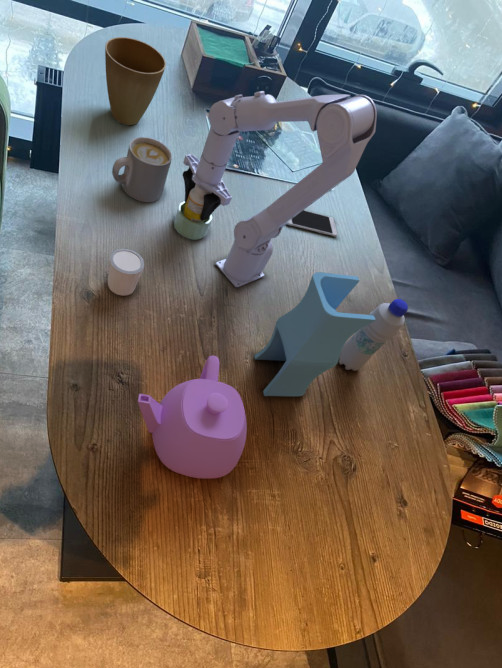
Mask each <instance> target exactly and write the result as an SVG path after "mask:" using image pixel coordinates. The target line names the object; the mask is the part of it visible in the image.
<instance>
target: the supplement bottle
mask: <svg viewBox="0 0 502 668" xmlns="http://www.w3.org/2000/svg"><path fill="white" fill-rule="evenodd" d="M210 193H212V192H211V191H210V190H208V189H207V188H205V187H204V186H202V185H201V184H196V185H195V188H193V189H192V190H191V191H190V193H189V196H188V199H187V202H186V205H185V208H184V211H183V215H184V216H185V217H186V218H187V219H189V220H190V221H193V222H196V223H204V221H205V220H203V221H202V220H201V219H200V215H201V212H202V209H203V205H204V195H206V194H210Z"/></svg>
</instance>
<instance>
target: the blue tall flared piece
mask: <svg viewBox="0 0 502 668" xmlns="http://www.w3.org/2000/svg"><path fill="white" fill-rule="evenodd" d="M359 283H360V278H359V276H356V275H348V274H340V273H339V274H338V273H331V272H323V271H322V272H321V271H317V272H315V273H313V274H312V276H311V278H310V281H309V284H308V287H307V289H306V292H305V293H304V295H303V297H302V298H301V300H300V301H299V303H297V305H296V306H295V307H293V308H292V309H291V310H290V311H287V312H286V313H285V314H283V315H281V316H280V317H278V318H277V320H276V321H275V325H274V328H273V331H272V335H271V337H270V339H269V341H268V343H267V344H266V345H265V346H264V347H263V348H262V349H261V350H260V351H259V352H257V353H256V354H254V355H253V357H254V360H255V361H256V360H259V361H276V362H277V361H279V362H284V363H283V365H282V366H281V368H280V370H279V371H278V372H277V374H275V376H274V378H272V380H271V381H270V382H269V383H268V385H266V387H265V388H264V390H262V393H263V396H264V397H303V396H304V395H305V394H306V391H307V390H308V388H309V387H310V385H311V384H312V383H313V382H314V380H315V379H316V378H318V377H320V375H322V374H324V373H325V372H327V371H329V370H330V369H333V368H335V367H336V365H338V364H339V356H340V353H341V350H342V348H343V346H344V344H345V343H346V342H347V341H348V340H349V339H350V338H351V337H352V336H353V335H354V334H355V333H356V332H357V331H358V330H360V329H361V328H363V327H365V326H366V325H368V324H370V323H372V322H374V321H375V320H376V319H375V317H374V315H369V314H363V313H362V314H361V313H350V312H340V311H337V309H338V307H339V306H340V305H341V304H342V302H343V301H345V299H346V298H347V297H348V295H349V294H350V293H351V292H352V291H353V289H355V287H356V286H357V285H358V284H359Z"/></svg>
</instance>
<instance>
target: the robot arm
mask: <svg viewBox="0 0 502 668" xmlns="http://www.w3.org/2000/svg"><path fill="white" fill-rule="evenodd" d="M377 116H378V111H377V106H376V103H375V101H373V99H372V98H371V97H370V96H368V95H366V94H356V95H354V96H352V97H351V94H347V93H346V94H343V93H341V94H322V95H315V96H307V97H301V98H294V99H287V100H281V101H278V100H276V98H275V97H274V96H273V95H272V94H270V93H269V94H265V90H261V91H256V92H254V94H253V95H252V96H243V94H236V95H234V97H230V98H227V99H223V100H219V101H216V102H215V103H213V104H212V105H211V107H210V109H209V111H208V121H209V125H210V127H209V130H208V134H207V137H206V138H205V139H206V140H205V142H204V146H203V149H202V151H201V156H200V158H198V157H196V156H195V155H194V154H193V153H190V154H186V155H185V156H184V158H183V163H182V164H183V165H184V166H188V169H187V170H184V171H182V179H183V183H184V201H185V203H186V202H187V199H188V196H189V193H190V191H191V190H192V189H193V188H195V185H196V184H201V185H202V186H204V187H205V188H207V189H208V190H210V191H211V192H212V193H210V194H206V195H204V205H203V209H202V212H201V215H200V219H201V220H202V221H203V220H207V219H208V218H209V217H210V215H211V214H212V215H213V213H214V212H215V211H216V209H218V208H219V207H220V206H222V207H224V206H228V205H230V203H231V202H232V198H233V196H232V195H231V194H230V192H229V190H228V187H227V186H226V185H225V184H226V183H225V182H224V180H223V176H224V174H225V171H226V169H227V166H228V163H229V161H230V158H231V155H232V152H233V150H234V147H235V145H236V142H237V139H238V138H239V136H240V134H241V132H242V133H244V132H260V131H270V130H272V129H273V128H274V127H275V126H276V124H277V123H285V122H286V123H287V122H288V123H290V122H307V123H308V126H309V128H310V131H311V132H316V135H317V140H318V145H319V150H320V155H321V161H322V162H321V163H320V164H319V165H318V166H317V167H315V168H314V169H313V170H311V172H309V173H308V174H306V176H304V177H303V178H302V179H301V180H300V181H298V182H297V183H295V184H294V185H293V186H292V187H291V188H289V189H288V190H286V192H284V193H283V194H282V195H280V197H278V198H277V199H276V200H275V201H273V202H272V203H270V205H268V206H267V207H266V208H264V209H263V210H261V211H259V212H258V213H257V214H255V215H252V216H251V217H248V218H246V219H244V220H241V221H239V222H237V223H236V224H235V226H234V229H233V237H234V240H233V243H232V246H231V248H230V250H229V252H228V254H227V256H226V258H224V259H220V260H218V261H216V262H215V265H216V267H217V268H218V269H219V270H220V271H221V272H222V273H223V275H224V276H225V277H226V278H227V279H228V280H229V281H230V283H231V284H232V285H233V286H234V287H235V288H239V287H242V286H244V285H247V284H249V283H252V282H254V281H256V280H259V279H261V278H264V277H265V273H264V270H265V268H266V266H267V265H268V262H269V261H270V259H271V257H272V255H273V250H274V246H273V243H272V241H271V240H273V239H276V238H277V237H279V236H280V234H281V232H282V230H283V227H285V226H286V225H288V224H287V223H288V221H289V220H291V219H292V218H293V217H295V216H296V215H297V214H299V213H300V212H302V211H303V210H306V209H307V208H308V207H310V206H311V205H312V204H314V203H315V202H317V201H318V200H319V199H320V198H321V199H322V197H323V196H325V195H327V194H328V193H329V192H330V191H332V190H333V189H334V188H336V187H337V186H339V185H340V184H341V183H343V182H344V181H346V180H347V179H348V178H349V177H351V176H352V175H353V174H354V172H355V171H356V168H357V166H358V164H359V162H360V160H361V159H362V158H361V157H362V156H363V153H364V151H365V149H366V147H367V145H368V143H369V141H370V140H371V139H372V137H373V136H374V135H375V133H376V129H377V118H378V117H377Z"/></svg>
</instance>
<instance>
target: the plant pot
mask: <svg viewBox="0 0 502 668" xmlns="http://www.w3.org/2000/svg"><path fill="white" fill-rule="evenodd" d="M104 56H105V58H104V59H105V62H104V63H105V80H106V89H107V90H106V91H107V97H108V102H109V108H110V112H111V116H112V117H113V119H114V120H115V121H117V122H118V123H120V124H122V125H126V126H135V125H137V124H139V122H140V121H141V120H142V118H143V116H144V115H145V113H146V111H147V110H148V108H149V106H150V104H151V102H152V100H153V99H154V96H155V95H156V92H157V91H158V88H159V85H160V82H161V80H162V78H163V75H164V72H165V69H166V66H167V62H166V60H165V57H164V56H163V54H162V53H161V52H160V51H159V50H158V49H156V48H155V47H154V46H152V45H151V44H148V43H147V42H144V41H142V40H139V39H136V38H131V37H125V36H118V37H113V38H110V39H108V40H107V41H106V43H105V45H104Z"/></svg>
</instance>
